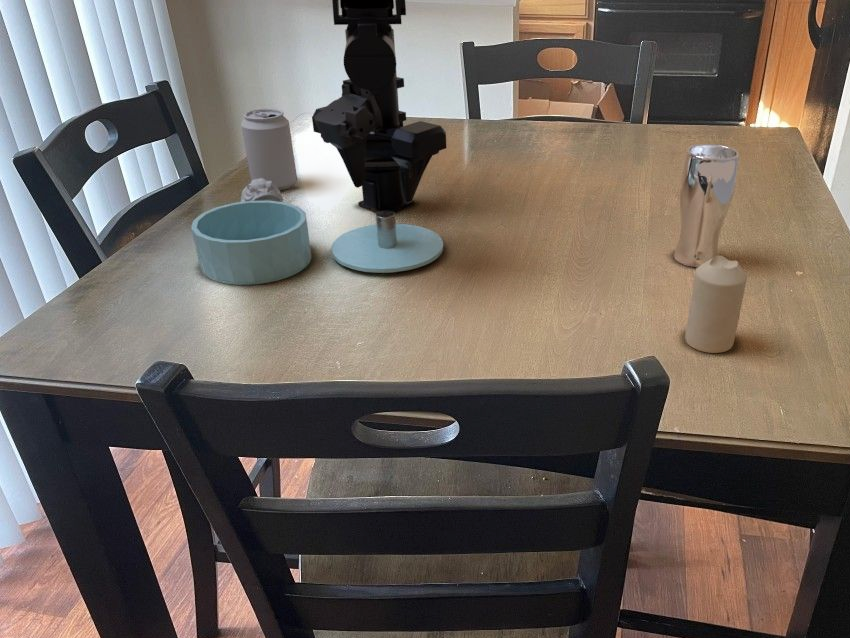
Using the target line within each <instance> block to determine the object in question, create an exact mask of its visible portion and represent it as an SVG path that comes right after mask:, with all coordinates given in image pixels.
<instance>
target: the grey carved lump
mask: <svg viewBox="0 0 850 638" xmlns="http://www.w3.org/2000/svg"><path fill="white" fill-rule="evenodd" d="M250 181H251V180H250ZM246 201H277V202H284V198H283V195H282V194H281V190H280V191H279V190H278V188H276V186H275V185H274V184H273V183H272V181H266V180H265V179H263V178H259V179H253V180H252V181H251V182H250V183H248V184H246V186H245V187H244V188H243V190H242V191H241V196H240V202H246Z"/></svg>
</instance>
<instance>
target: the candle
mask: <svg viewBox="0 0 850 638" xmlns="http://www.w3.org/2000/svg"><path fill="white" fill-rule="evenodd" d="M747 280H748V275H747V273H746V272H745V270H744V269H743V268H742V266H741V265H740V263H739V261H738V260H729V259H728V258H727V257H726V256H723V255H719V256H715V257H714V258H712V259H711V260H709V261H707V262H705V263H703V264H702V265H700V266H699V267H698V268H697V267H696V269H695V271H694V278H693V284H692V288H691V289H692V291H691V297H690V302H689V308H688V315H687V320H686V321H687V322H686V328H685V334H684V339H685V342H686V344H687V345H689V346H690V347H691V348H693V349H695V350H697V351H700V352H703V353H709V354H719V353H724V352H727V351H729V350H731V349H732V348H733V346H734V343H735V339H736V336H737V335H736V334H737V330H738V325H739V320H740V315H741V309H742V306H743V300H744V296H745V295H744V294H745V291H746V285H747Z"/></svg>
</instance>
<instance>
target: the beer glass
mask: <svg viewBox="0 0 850 638" xmlns="http://www.w3.org/2000/svg"><path fill="white" fill-rule="evenodd" d="M739 156H740V153H739V150H737V149H735V148H733V147H730V146H726V145H722V144H717V143H700V144H693V145H690V146H689V147H687V150H686V155H685V159H684V163H683V169H682V172H681V173H682V174H681V179H680V187H679V189H680V190H679V207H680V210H679V211H680V234H679V238H678V241H677V245H676V248H675V250H674V254H673V257H674V259H675V261H677V262H678V263H679V264H681V265H683V266H686V267H690V268H696V269H697V268H698V267H699V266H700V265H702V264H703V263H705V262H707V261H709V260H711V259H712V258H714V257H715V256H720V254H719V250H720V249H719V245H720V244H719V243H720V236H721V233H722V232H721V231H722V228H723V226H724V223H725V220H726V218H727V215H728V212H729V210H730V207H731V203H732V201H733V197H734V193H735V189H736V185H737V177H738V166H739Z"/></svg>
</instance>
